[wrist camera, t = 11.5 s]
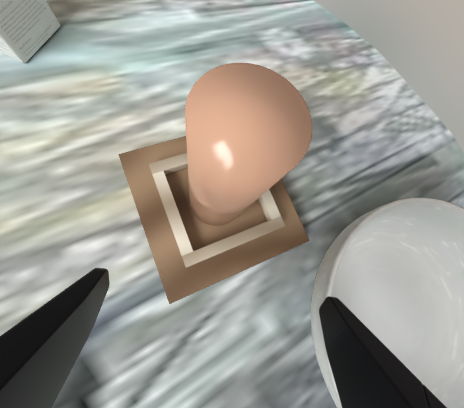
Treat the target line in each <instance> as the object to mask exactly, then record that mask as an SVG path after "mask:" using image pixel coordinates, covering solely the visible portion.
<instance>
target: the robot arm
mask: <svg viewBox="0 0 464 408" xmlns="http://www.w3.org/2000/svg"><path fill="white" fill-rule="evenodd" d="M108 288H109V274H108V270H107V269H104V268H95V269H93V270H92V271H90V272H89V273H88V274H86V275H85V276H83V277H82V278H81V279H79V280H78V281H76V282H75V283H74V284H72V285H71V286H69V287H68V288H67V289H65V290H64V291H62V292H61V293H60V294H58V295H57V296H56V297H54V298H53V299H51V300H50V301H49V302H47V303H46V304H44V305H43V306H42V307H40V308H39V309H37V310H36V311H35V312H33V313H32V314H30V315H29V316H28V317H26V318H25V319H23V320H22V321H21V322H19V323H18V324H17V325H15V326H14V327H12V328H11V329H10V330H8V331H7V332H5V333H4V334H3V335H1V336H0V408H52V406H53V404H54V402H55V400H56V398H57V396H58V394H59V392H60V391H61V389H62V387H63V385H64V383H65V381H66V379H67V377H68V375H69V373H70V371H71V369H72V368H73V366H74V364H75V362H76V360H77V358H78V356H79V354H80V352H81V350H82V348H83V346H84V344H85V343H86V341H87V339H88V337H89V335H90V333H91V331H92V328H93V326H94V324H95V321H96V319H97V316H98V314H99V311H100V308H101V306H102V303H103V301H104V298H105V296H106V293H107V291H108ZM319 316H320V321H321V327H322V332H323V338H324V343H325V348H326V352H327V356H328V359H329V363H330V367H331V370H332V374H333V377H334V381H335V384H336V388H337V391H338V395H339V398H340V402H341V405H342V408H447V407H446V406H445V405H444V404H443V403H442V402H441V401H440V400H439V399H438V398H437V397H436V396H435V395H434V394H433V393H432V392H431V391H430V390H429V389H428V388H427V387H426V386H425V385H423V384H422V382H421V381H420V380H419V379H418V378H417V377H416V376H415V375H414V374H413V373H412V372H411V371H410V370H409V369H408V368H407V367H406V366H405V365H404V364H403V363H402V362H401V361H400V360H399V359H398V358H397V357H396V356H395V355H394V354H393V353H392V352H391V351H390V350H389V349H388V348H387V347H386V346H385V345H384V344H383V343H382V342H381V341H380V340H379V339H378V338H377V337H376V336H375V335H374V334H373V333H372V332H371V331H370V330H369V329H368V328H367V327H366V326H365V325H364V324H363V323H362V322H361V321H360V320H359V319H358V318H357V317H356V316H355V315H354V314H353V313H352V312H351V311H350V310H349V309H348V308H347V307H346V306H345V305H344V304H343V303H342V302H341V301H340V300H339V299H338V298H336V297H330V296H328V297H326V298H325V300H324V301H323V303H322V304H321V306H320V308H319Z"/></svg>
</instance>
